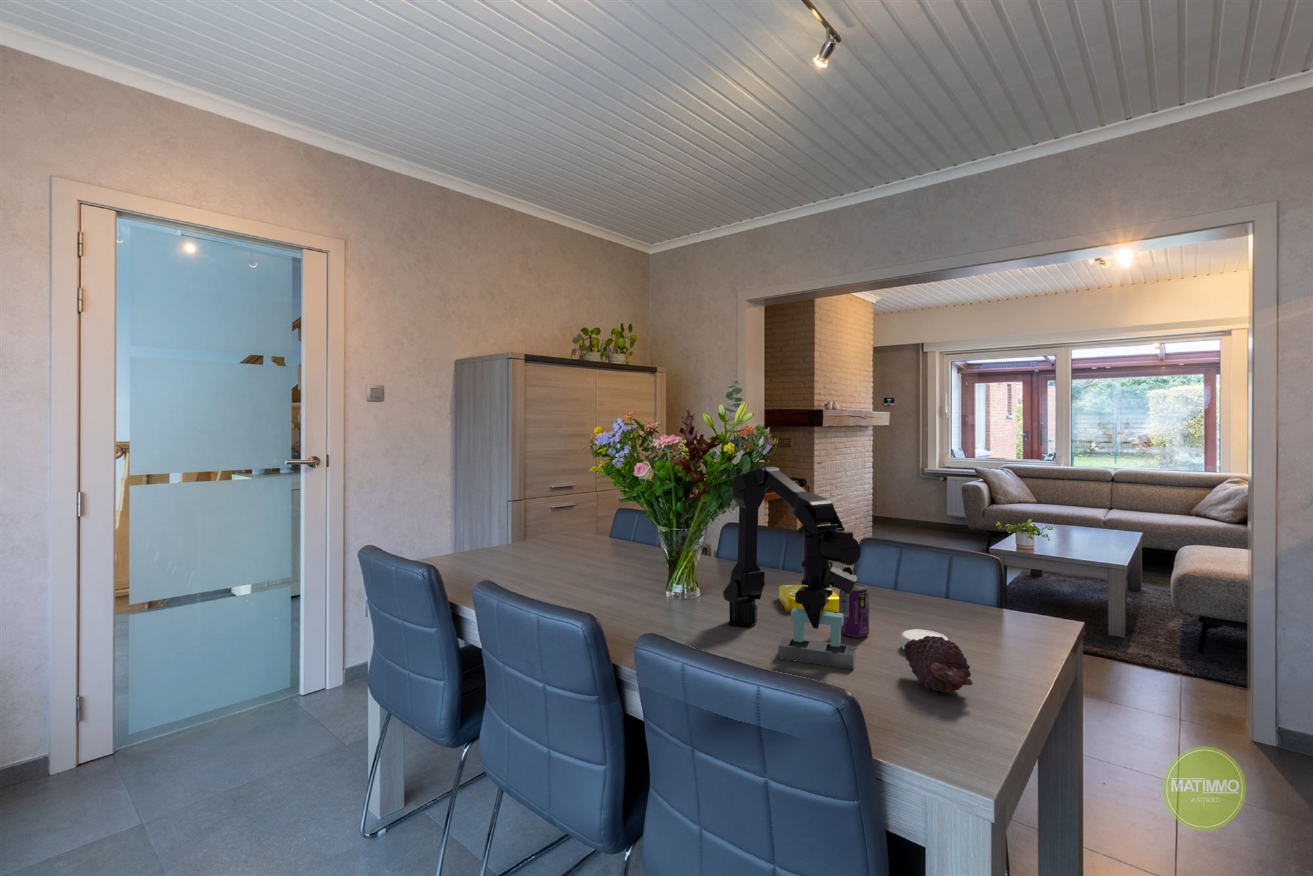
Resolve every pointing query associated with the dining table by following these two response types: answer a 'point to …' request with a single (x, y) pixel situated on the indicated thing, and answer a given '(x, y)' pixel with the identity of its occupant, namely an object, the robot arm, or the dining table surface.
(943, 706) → the dining table surface
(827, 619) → the clip
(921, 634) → the coaster
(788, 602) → the element tile
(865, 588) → the beverage can
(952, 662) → the pine cone
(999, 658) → the dining table surface
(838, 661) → the grey slotted base block
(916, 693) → the dining table surface
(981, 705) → the dining table surface
